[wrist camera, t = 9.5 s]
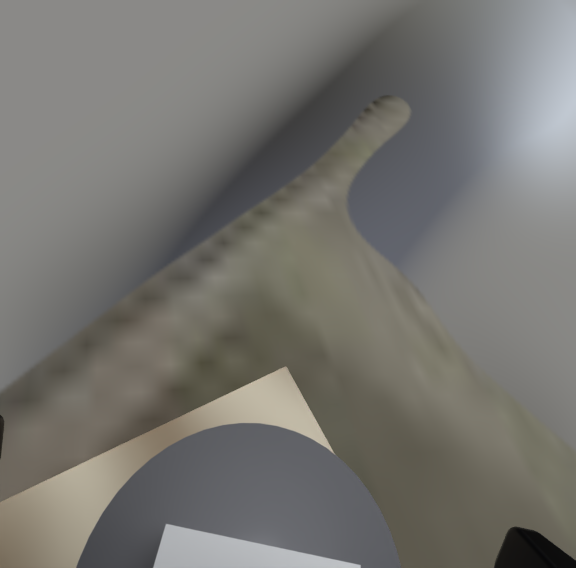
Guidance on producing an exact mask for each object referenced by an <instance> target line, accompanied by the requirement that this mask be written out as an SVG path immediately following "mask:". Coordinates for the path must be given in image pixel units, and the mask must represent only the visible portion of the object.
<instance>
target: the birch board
mask: <svg viewBox="0 0 576 568" xmlns="http://www.w3.org/2000/svg"><path fill="white" fill-rule="evenodd" d="M236 423H261V424H268V425H274V426H279V427H282V428H286V429H289V430H293V431H295V432H298V433H300V434H302V435H304V436H307V437H309V438H311V439H313V440H314V441H316V442H318V443H319V444H321V445H323V446H324V447H326V448H327V449H329V450H330V451H331V452H332V453H334V452H333V450H332V449H331V447H330V445H329V443H328V441H327V439H326V438H325V436H324V434H323V432H322V430H321V429H320V427H319V425H318V423H317V421H316V420H315V418H314V416H313V414H312V412H311V411H310V409H309V407H308V405H307V403H306V402H305V400H304V398H303V396H302V394H301V392H300V391H299V389H298V387H297V385H296V383H295V382H294V380H293V378H292V376H291V374H290V373H289V371H288V369H287V367H284V368H281V369H279V370H277V371H275V372H273V373H271V374H269V375H267V376H265V377H263V378H260V379H258V380H256V381H254V382H252V383H250V384H248V385H246V386H244V387H241V388H239V389H237V390H235V391H233V392H231V393H229V394H227V395H225V396H223V397H220V398H218V399H216V400H214V401H212V402H210V403H208V404H206V405H204V406H202V407H199V408H197V409H195V410H193V411H191V412H189V413H187V414H185V415H183V416H181V417H178V418H176V419H174V420H172V421H170V422H168V423H166V424H164V425H162V426H160V427H157V428H155V429H153V430H151V431H149V432H147V433H145V434H143V435H141V436H138V437H136V438H134V439H132V440H130V441H128V442H126V443H124V444H122V445H120V446H117V447H115V448H113V449H111V450H109V451H107V452H105V453H103V454H101V455H99V456H96V457H94V458H92V459H90V460H88V461H86V462H84V463H82V464H80V465H78V466H75V467H73V468H71V469H69V470H67V471H65V472H63V473H61V474H59V475H57V476H54V477H52V478H50V479H48V480H46V481H44V482H42V483H40V484H38V485H35V486H33V487H31V488H29V489H27V490H25V491H23V492H21V493H19V494H17V495H14V496H12V497H10V498H8V499H6V500H4V501H2V502H0V568H76V567H77V564H78V561H79V559H80V556H81V554H82V552H83V549H84V547H85V545H86V543H87V540H88V538H89V536H90V534H91V532H92V530H93V529H94V527H95V525H96V523H97V522H98V520H99V518H100V516H101V515H102V513H103V511H104V510H105V509H106V507H107V506H108V505H109V503H110V502H111V500H112V499H113V498H114V496H115V495H116V493H117V492H118V491H119V490H120V489H121V488H122V486H123V485H124V484H125V483H126V482H127V481H128V480H129V479H130V477H131V476H132V475H133V474H134V473H135V472H136V471H138V470H139V469H140V468H141V467H142V466H143V465H144V464H145V463H147V462H148V461H149V460H150V459H151V458H153V457H154V456H155V455H157V454H158V453H160V452H161V451H162V450H164V449H165V448H167V447H168V446H170V445H172V444H174V443H176V442H177V441H179V440H181V439H183V438H185V437H187V436H189V435H192V434H195V433H197V432H200V431H202V430H205V429H209V428H213V427H217V426H221V425H227V424H236Z"/></svg>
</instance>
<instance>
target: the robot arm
mask: <svg viewBox="0 0 576 568" xmlns="http://www.w3.org/2000/svg"><path fill="white" fill-rule="evenodd" d="M3 431H4V419H3V417H2V416H1V415H0V458H1V451H2V441H3ZM494 568H576V560H574V559H573V558H572V557H570V556H569V555H568V554H566V553H565V552H564V551H562V550H561V549H560V548H558V547H557V546H556V545H554V544H553V543H552V542H550V541H549V540H548V539H547V538H545V537H544V536H543V535H541V534H540V533H538V532H536V531H534V530H530V529H525V528H520V527H512V528H510V529H509V530H508V532H507V534H506V536H505V539H504V541H503V544H502V546H501V549H500V551H499V554H498V556H497V558H496V561H495V565H494Z"/></svg>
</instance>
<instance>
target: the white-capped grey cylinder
mask: <svg viewBox="0 0 576 568" xmlns="http://www.w3.org/2000/svg"><path fill="white" fill-rule="evenodd" d="M76 568H401V566H400V562H399V557H398V553H397V550H396V547H395V544H394V541H393V539H392V536H391V533H390V530H389V528H388V526H387V523H386V521H385V519H384V517H383V515H382V513H381V511H380V509H379V507H378V505H377V504H376V502H375V501H374V499H373V497H372V496H371V494H370V492H369V491H368V489H367V488H366V487H365V486H364V484H363V483H362V482H361V480H360V479H359V478H358V477H357V475H356V474H355V473H354V472H353V471H352V470H351V469H350V468H349V467H348V466H347V465H346V464H345V463H344V462H343V461H342V460H341V459H340V458H339V457H337V456H336V455H335V454H334V453H332V452H331V451H330V450H329V449H327V448H326V447H324V446H323V445H321V444H319V443H318V442H316V441H314V440H313V439H311V438H309V437H307V436H304V435H302V434H300V433H298V432H295V431H293V430H289V429H286V428H282V427H279V426H274V425H268V424H261V423H236V424H227V425H221V426H217V427H213V428H209V429H205V430H202V431H200V432H197V433H195V434H192V435H189V436H187V437H185V438H183V439H181V440H179V441H177V442H176V443H174V444H172V445H170V446H168V447H167V448H165V449H164V450H162V451H161V452H160V453H158V454H157V455H155V456H154V457H153V458H151V459H150V460H149V461H148V462H147V463H145V464H144V465H143V466H142V467H141V468H140V469H139V470H138V471H136V472H135V473H134V474H133V475H132V476H131V477H130V479H129V480H128V481H127V482H126V483H125V484H124V485H123V486H122V488H121V489H120V490H119V491H118V492H117V493H116V495H115V496H114V498H113V499H112V500H111V502H110V503H109V505H108V506H107V507H106V509H105V510H104V511H103V513H102V515H101V516H100V518H99V520H98V522H97V523H96V525H95V527H94V529H93V530H92V532H91V534H90V536H89V538H88V540H87V543H86V545H85V547H84V549H83V552H82V554H81V556H80V559H79V561H78V564H77V567H76Z"/></svg>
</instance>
